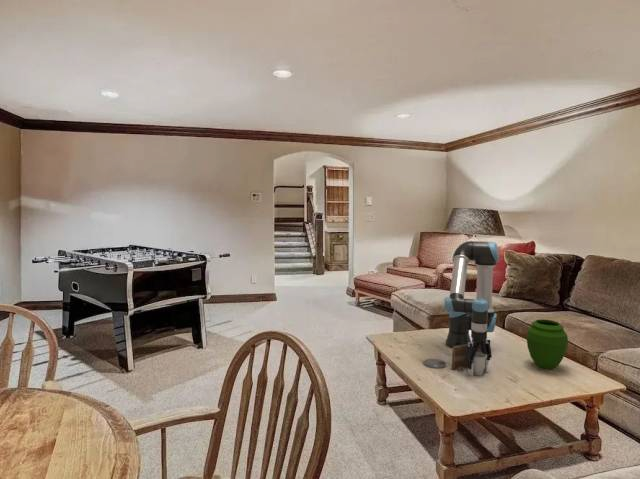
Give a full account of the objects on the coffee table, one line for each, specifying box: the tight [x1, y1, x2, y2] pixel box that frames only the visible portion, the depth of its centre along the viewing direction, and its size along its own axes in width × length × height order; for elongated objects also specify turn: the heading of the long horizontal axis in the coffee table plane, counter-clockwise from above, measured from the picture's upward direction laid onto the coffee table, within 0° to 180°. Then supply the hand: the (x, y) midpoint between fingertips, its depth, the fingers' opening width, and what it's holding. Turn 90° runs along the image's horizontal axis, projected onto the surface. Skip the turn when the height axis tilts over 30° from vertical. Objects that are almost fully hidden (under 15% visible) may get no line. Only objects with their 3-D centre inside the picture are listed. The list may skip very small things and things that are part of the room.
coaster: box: [422, 358, 447, 370], centre depth 220 cm, size 12×12×1 cm
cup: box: [472, 352, 487, 377], centre depth 207 cm, size 8×8×10 cm
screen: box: [450, 344, 482, 372], centre depth 216 cm, size 6×20×12 cm, turn 114°
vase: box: [525, 319, 569, 371], centre depth 214 cm, size 20×20×24 cm
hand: (477, 373), depth 208 cm, fingers open, 9 cm apart
